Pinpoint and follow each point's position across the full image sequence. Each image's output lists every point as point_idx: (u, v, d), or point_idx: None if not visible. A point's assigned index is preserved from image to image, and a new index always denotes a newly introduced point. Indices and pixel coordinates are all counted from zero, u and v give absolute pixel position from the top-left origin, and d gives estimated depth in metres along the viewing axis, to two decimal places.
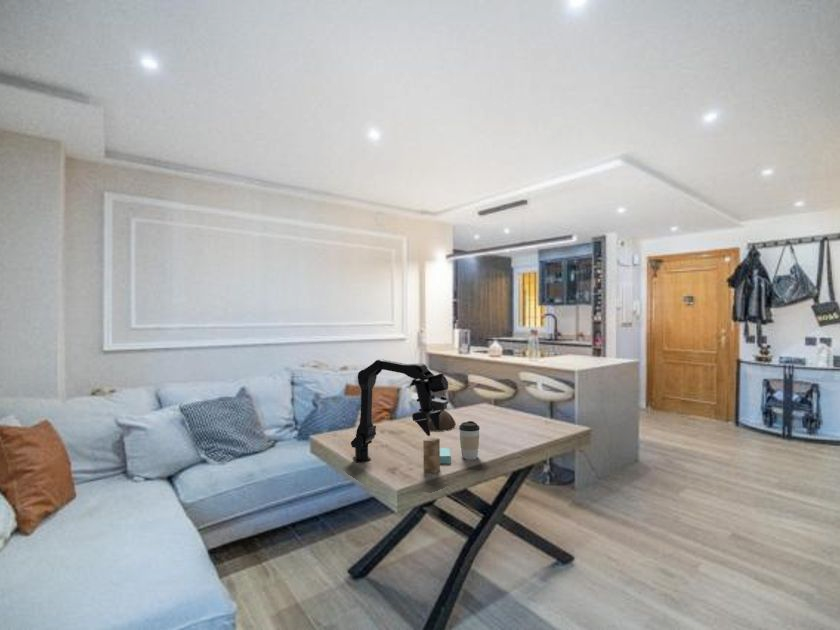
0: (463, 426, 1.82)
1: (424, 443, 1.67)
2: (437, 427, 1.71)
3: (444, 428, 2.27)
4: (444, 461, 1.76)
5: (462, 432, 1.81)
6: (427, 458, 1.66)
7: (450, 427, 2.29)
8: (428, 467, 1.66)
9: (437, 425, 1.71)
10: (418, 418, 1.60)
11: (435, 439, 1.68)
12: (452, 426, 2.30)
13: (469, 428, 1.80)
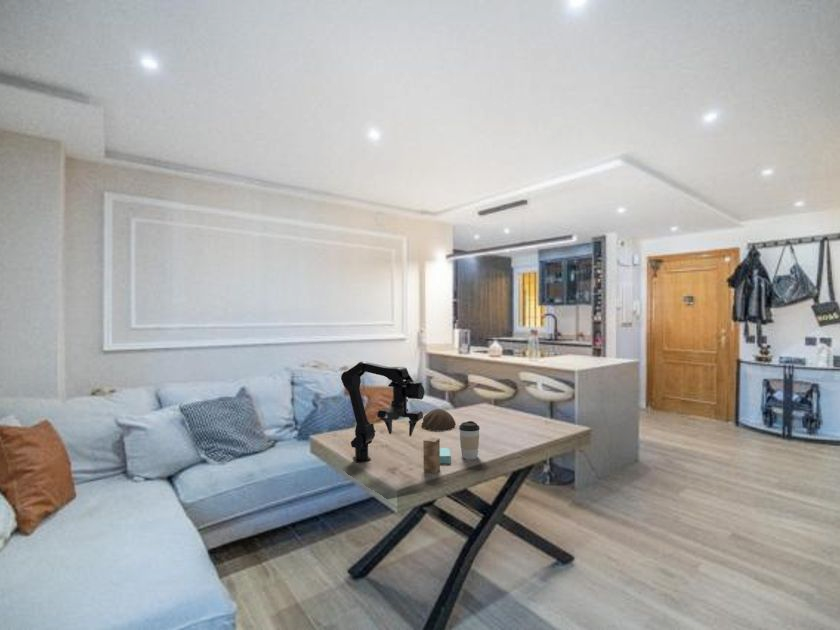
0: (463, 426, 1.82)
1: (424, 443, 1.67)
2: None
3: (444, 428, 2.27)
4: (444, 461, 1.76)
5: (462, 432, 1.81)
6: (427, 458, 1.66)
7: (450, 427, 2.30)
8: (428, 467, 1.66)
9: None
10: None
11: (435, 439, 1.68)
12: (452, 426, 2.30)
13: (469, 428, 1.80)
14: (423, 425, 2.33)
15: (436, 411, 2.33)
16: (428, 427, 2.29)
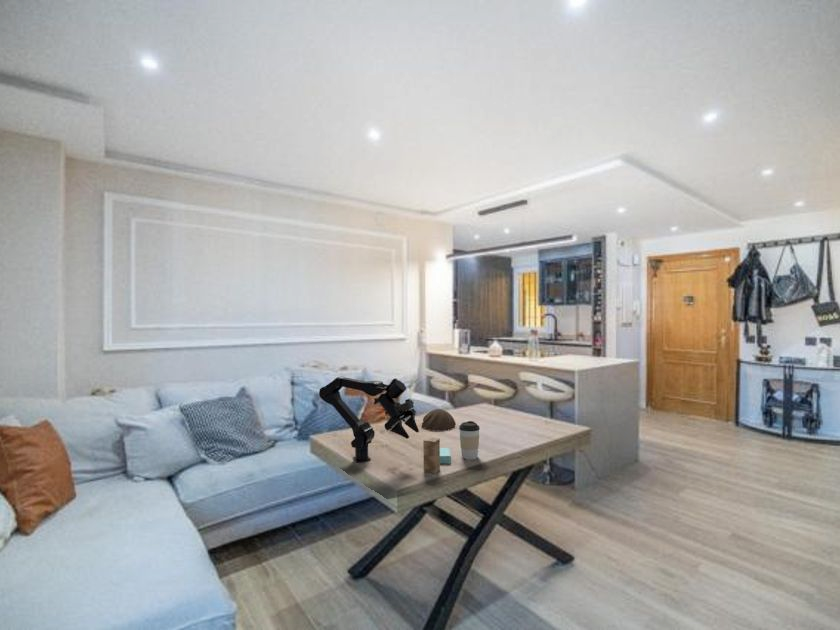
0: (463, 426, 1.82)
1: (424, 443, 1.67)
2: (416, 430, 1.76)
3: (445, 428, 2.27)
4: (444, 461, 1.76)
5: (462, 432, 1.81)
6: (427, 458, 1.66)
7: (451, 427, 2.30)
8: (428, 467, 1.66)
9: (415, 428, 1.76)
10: (390, 425, 1.66)
11: (435, 439, 1.68)
12: (452, 426, 2.30)
13: (469, 428, 1.80)
14: (423, 425, 2.33)
15: (436, 411, 2.33)
16: (428, 427, 2.28)
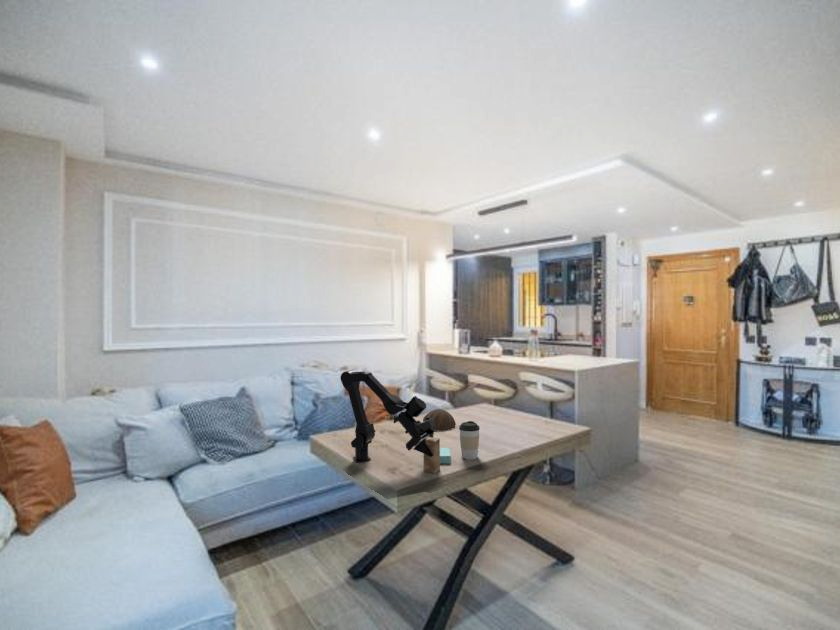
0: (463, 426, 1.82)
1: None
2: None
3: (445, 428, 2.27)
4: (444, 461, 1.76)
5: (462, 432, 1.81)
6: (427, 458, 1.66)
7: (451, 427, 2.30)
8: (428, 467, 1.66)
9: None
10: (411, 445, 1.62)
11: (435, 439, 1.68)
12: (452, 426, 2.31)
13: (469, 428, 1.80)
14: None
15: (436, 411, 2.33)
16: None
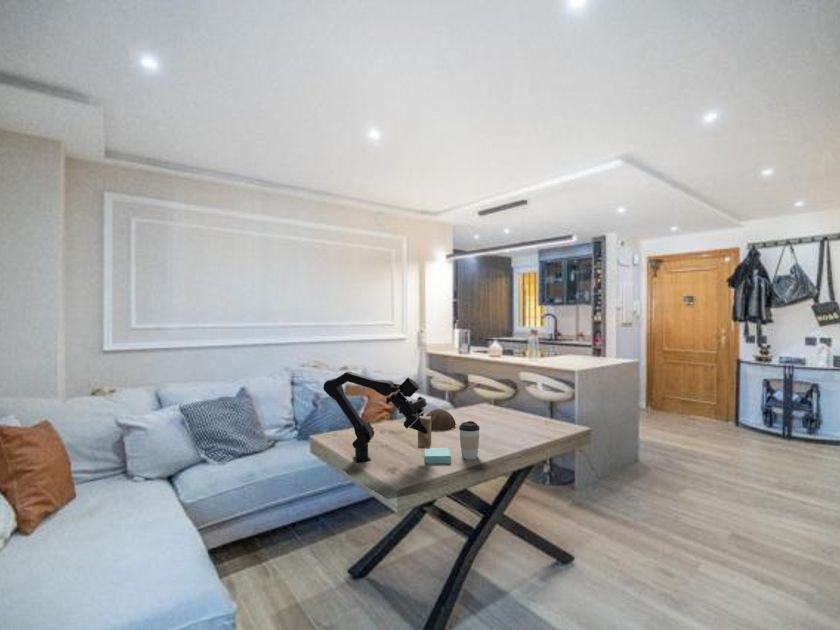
0: (463, 426, 1.82)
1: None
2: None
3: (446, 428, 2.27)
4: (444, 461, 1.76)
5: (462, 432, 1.81)
6: (421, 435, 1.75)
7: (451, 427, 2.30)
8: (423, 444, 1.75)
9: None
10: (410, 423, 1.69)
11: (428, 417, 1.77)
12: (453, 426, 2.31)
13: (469, 428, 1.80)
14: None
15: (437, 411, 2.33)
16: None
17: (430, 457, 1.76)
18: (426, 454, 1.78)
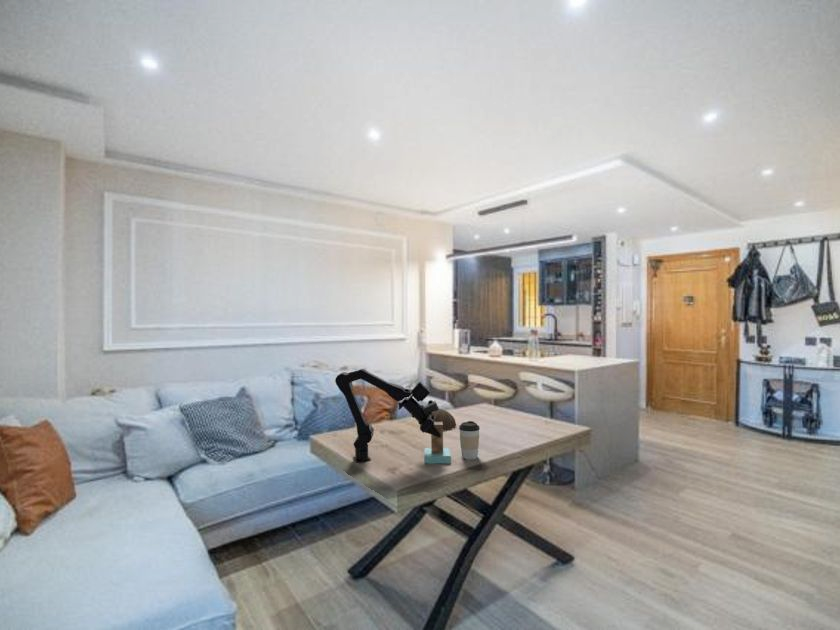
0: (463, 426, 1.82)
1: None
2: None
3: (446, 428, 2.27)
4: (444, 461, 1.76)
5: (462, 432, 1.81)
6: (435, 441, 1.79)
7: (452, 427, 2.30)
8: (436, 449, 1.79)
9: None
10: (426, 427, 1.72)
11: (440, 423, 1.82)
12: (453, 426, 2.31)
13: (469, 428, 1.80)
14: None
15: (437, 411, 2.33)
16: None
17: (430, 457, 1.76)
18: (426, 454, 1.78)
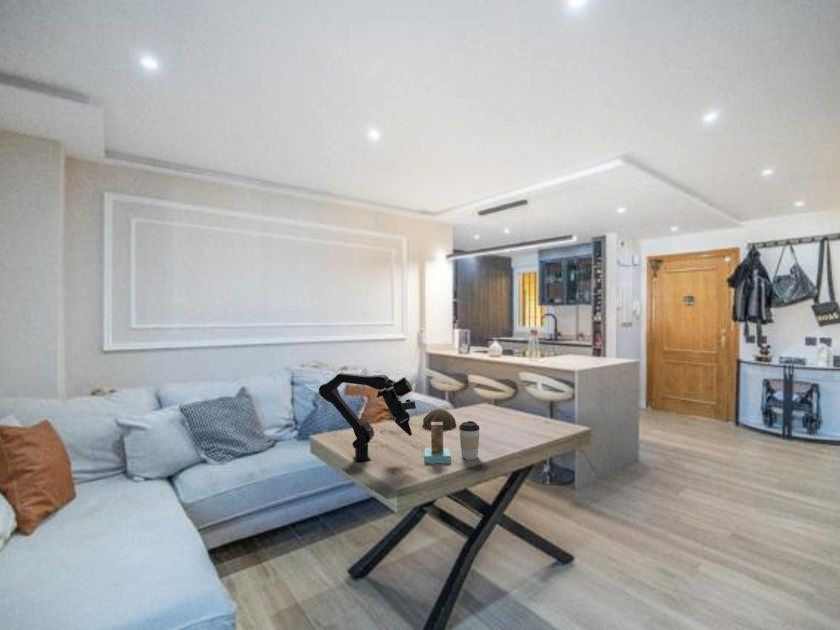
0: (463, 426, 1.82)
1: (432, 427, 1.79)
2: None
3: (447, 428, 2.27)
4: (444, 461, 1.76)
5: (462, 432, 1.81)
6: (435, 441, 1.79)
7: (452, 426, 2.30)
8: (436, 449, 1.79)
9: None
10: (402, 419, 1.70)
11: (440, 423, 1.82)
12: (453, 426, 2.31)
13: (469, 428, 1.80)
14: (424, 425, 2.32)
15: (437, 411, 2.33)
16: (430, 427, 2.28)
17: (430, 457, 1.76)
18: (426, 454, 1.78)
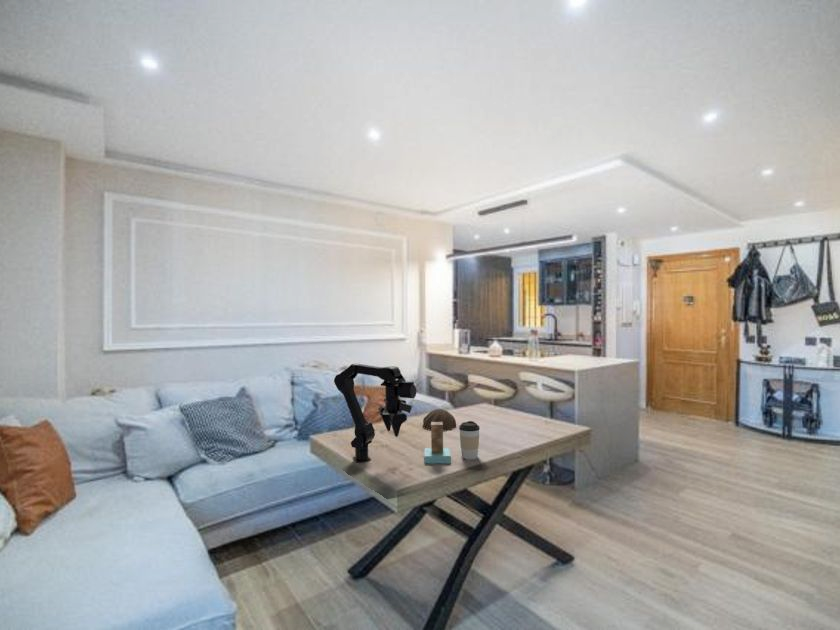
0: (463, 426, 1.82)
1: (432, 427, 1.79)
2: (389, 428, 1.79)
3: (447, 428, 2.27)
4: (444, 461, 1.76)
5: (462, 432, 1.81)
6: (435, 441, 1.79)
7: (452, 426, 2.31)
8: (436, 449, 1.79)
9: (389, 426, 1.79)
10: (399, 419, 1.67)
11: (440, 423, 1.82)
12: (454, 425, 2.31)
13: (469, 428, 1.80)
14: (425, 425, 2.32)
15: (438, 411, 2.33)
16: None
17: (430, 457, 1.76)
18: (426, 454, 1.78)
